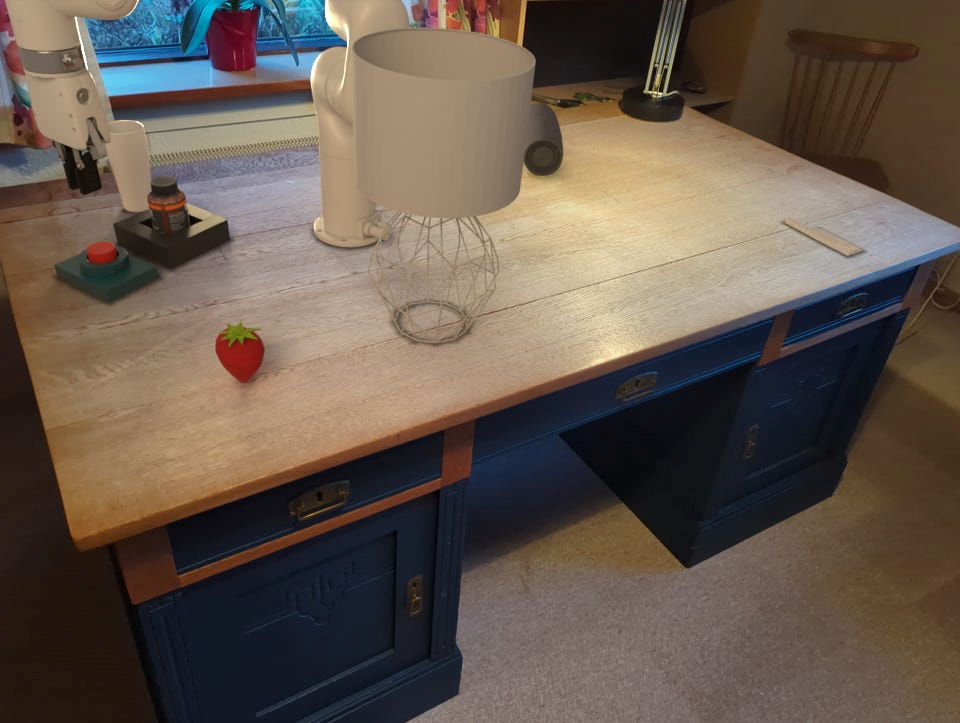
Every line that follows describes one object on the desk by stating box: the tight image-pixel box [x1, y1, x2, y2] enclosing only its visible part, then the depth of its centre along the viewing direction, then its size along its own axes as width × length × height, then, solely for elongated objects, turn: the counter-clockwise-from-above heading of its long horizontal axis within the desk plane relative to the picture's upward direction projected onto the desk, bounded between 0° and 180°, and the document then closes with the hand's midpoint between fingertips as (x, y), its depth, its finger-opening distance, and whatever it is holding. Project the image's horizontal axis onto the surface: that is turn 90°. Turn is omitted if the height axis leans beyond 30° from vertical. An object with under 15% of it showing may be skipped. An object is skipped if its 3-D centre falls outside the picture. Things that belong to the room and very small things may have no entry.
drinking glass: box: [103, 119, 152, 213], centre depth 134 cm, size 7×7×15 cm
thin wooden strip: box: [784, 217, 864, 257], centre depth 151 cm, size 5×15×1 cm, turn 33°
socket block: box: [112, 202, 231, 270], centre depth 129 cm, size 13×13×4 cm
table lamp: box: [352, 27, 536, 344], centre depth 105 cm, size 22×22×40 cm
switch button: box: [86, 241, 117, 263], centre depth 117 cm, size 4×4×2 cm
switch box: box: [53, 244, 159, 304], centre depth 118 cm, size 12×9×4 cm
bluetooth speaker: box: [523, 102, 564, 177], centre depth 168 cm, size 23×9×10 cm, turn 179°
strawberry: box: [214, 317, 265, 384], centre depth 99 cm, size 6×8×10 cm
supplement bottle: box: [147, 175, 191, 236], centre depth 126 cm, size 6×6×11 cm
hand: (85, 188), depth 110 cm, fingers closed
